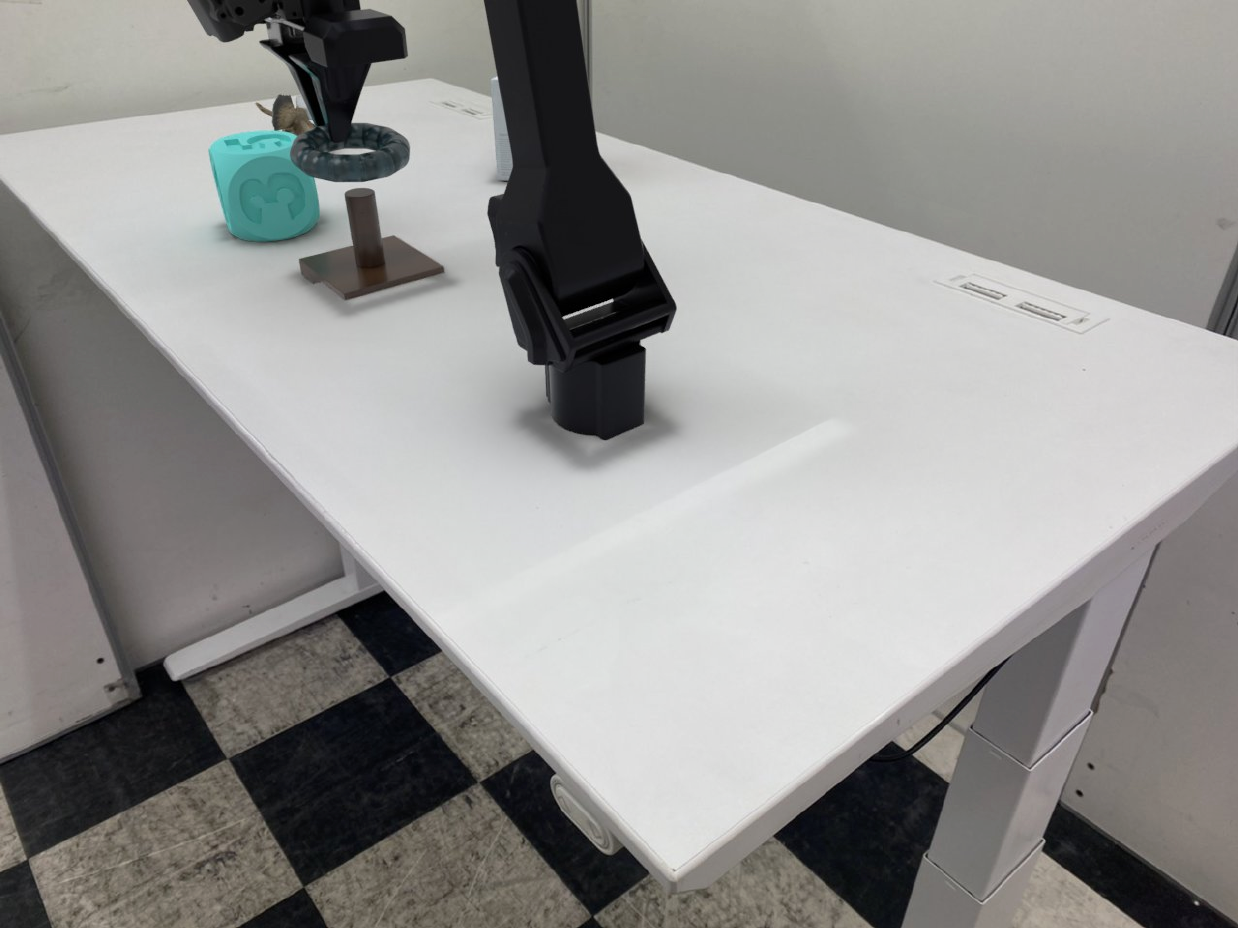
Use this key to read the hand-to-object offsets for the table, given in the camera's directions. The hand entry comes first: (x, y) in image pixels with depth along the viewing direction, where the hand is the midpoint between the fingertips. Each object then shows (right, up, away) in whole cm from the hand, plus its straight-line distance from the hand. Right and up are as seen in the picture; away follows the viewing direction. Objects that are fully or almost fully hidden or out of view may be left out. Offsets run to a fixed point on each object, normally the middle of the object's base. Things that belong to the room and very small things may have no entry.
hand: (332, 138), depth 75 cm
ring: (+2, -2, -2) cm, 4 cm away
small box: (+13, +6, +29) cm, 32 cm away
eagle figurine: (-15, +11, +35) cm, 40 cm away
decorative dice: (-10, -4, +14) cm, 18 cm away
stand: (+2, -10, +4) cm, 12 cm away
